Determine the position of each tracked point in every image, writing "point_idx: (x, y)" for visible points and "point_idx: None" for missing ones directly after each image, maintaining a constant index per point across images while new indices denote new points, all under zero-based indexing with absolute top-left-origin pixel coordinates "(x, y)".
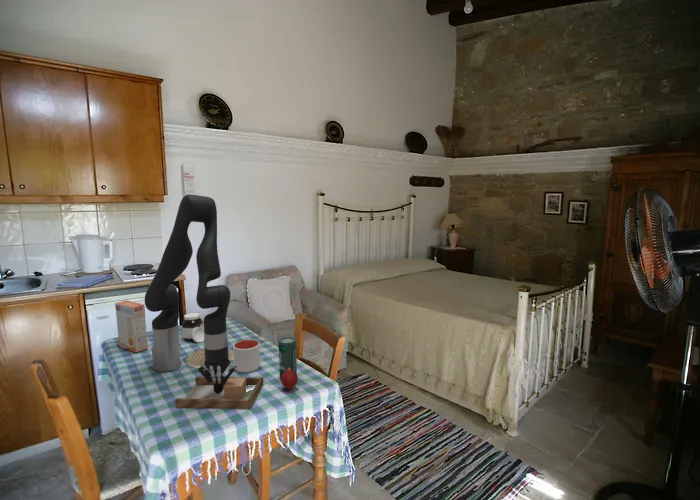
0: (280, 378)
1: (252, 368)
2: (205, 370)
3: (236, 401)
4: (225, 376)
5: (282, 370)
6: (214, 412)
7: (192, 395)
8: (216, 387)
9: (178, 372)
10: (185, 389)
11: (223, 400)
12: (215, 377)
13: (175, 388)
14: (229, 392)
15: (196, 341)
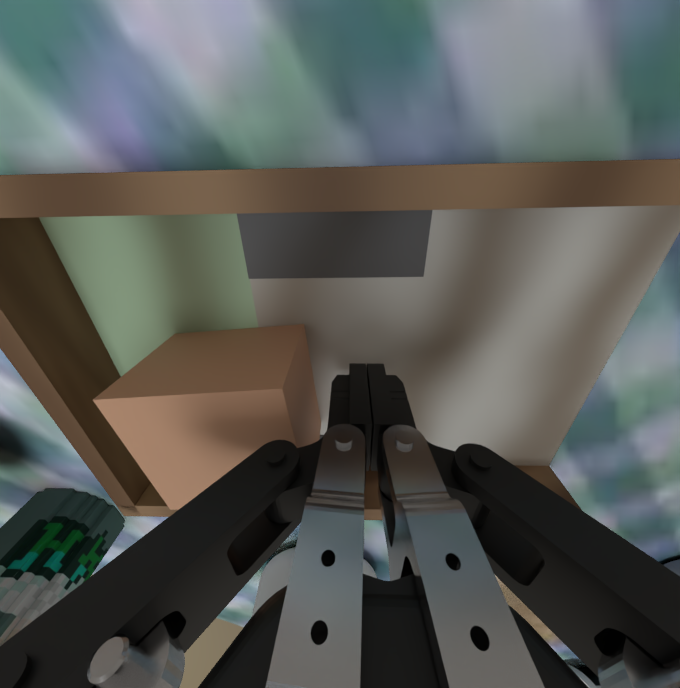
0: (93, 511)
1: (274, 570)
2: (635, 660)
3: (45, 174)
4: (238, 519)
5: (17, 566)
6: (303, 110)
7: (560, 363)
8: (377, 397)
9: (646, 547)
10: (608, 428)
11: (198, 173)
12: (397, 502)
13: (675, 437)
14: (246, 354)
15: (575, 671)
